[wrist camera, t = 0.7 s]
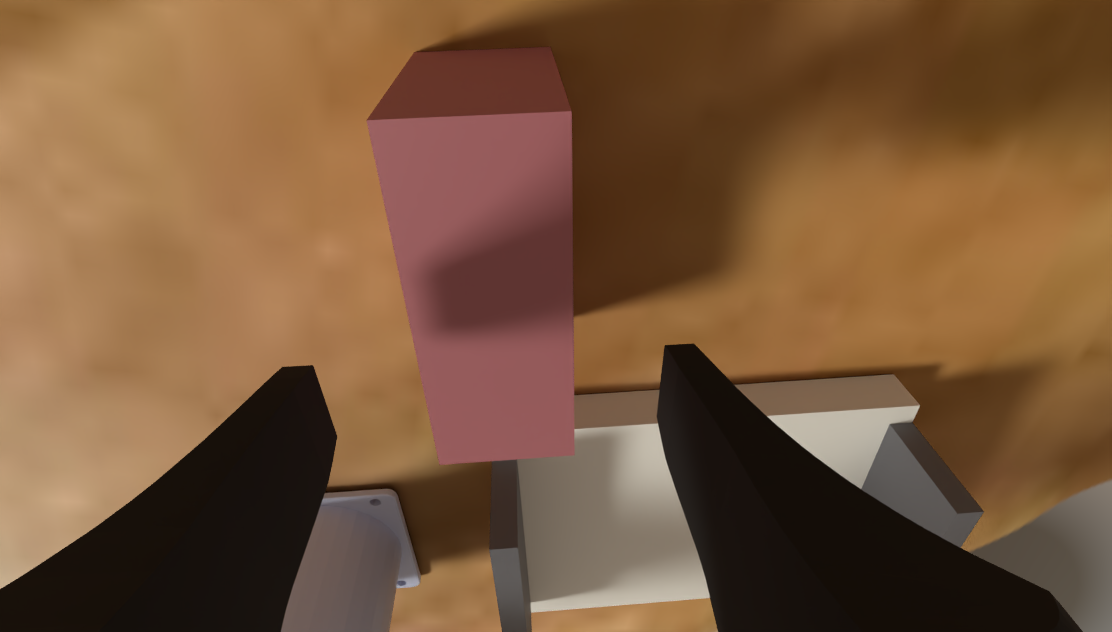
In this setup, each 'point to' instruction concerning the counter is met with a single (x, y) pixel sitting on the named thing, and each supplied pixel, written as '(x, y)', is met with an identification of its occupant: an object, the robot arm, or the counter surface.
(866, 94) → the counter surface
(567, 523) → the grey open rack
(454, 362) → the burgundy book
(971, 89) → the counter surface
